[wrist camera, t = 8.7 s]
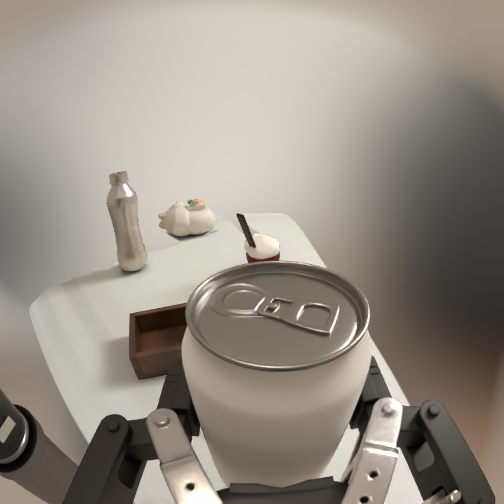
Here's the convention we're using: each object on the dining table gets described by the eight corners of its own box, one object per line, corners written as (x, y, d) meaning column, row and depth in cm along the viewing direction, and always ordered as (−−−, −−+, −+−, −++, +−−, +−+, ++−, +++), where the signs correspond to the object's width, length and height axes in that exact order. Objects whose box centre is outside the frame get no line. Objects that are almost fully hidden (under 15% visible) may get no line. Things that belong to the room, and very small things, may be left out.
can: (246, 408, 17) (235, 246, 12) (337, 434, 15) (387, 271, 10) (197, 479, 12) (125, 329, 7) (302, 519, 9) (369, 413, 4)
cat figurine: (216, 194, 72) (158, 195, 67) (220, 217, 67) (157, 218, 63) (212, 219, 79) (159, 221, 75) (215, 241, 75) (159, 244, 70)
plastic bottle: (116, 276, 52) (96, 178, 44) (125, 262, 59) (109, 173, 50) (145, 274, 53) (128, 173, 45) (152, 259, 59) (137, 168, 51)
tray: (138, 379, 29) (129, 358, 27) (136, 333, 37) (129, 313, 35) (211, 364, 31) (207, 343, 30) (196, 321, 39) (193, 301, 38)
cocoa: (276, 257, 58) (275, 200, 53) (291, 270, 52) (292, 207, 48) (232, 267, 55) (227, 207, 50) (243, 282, 49) (239, 215, 44)
